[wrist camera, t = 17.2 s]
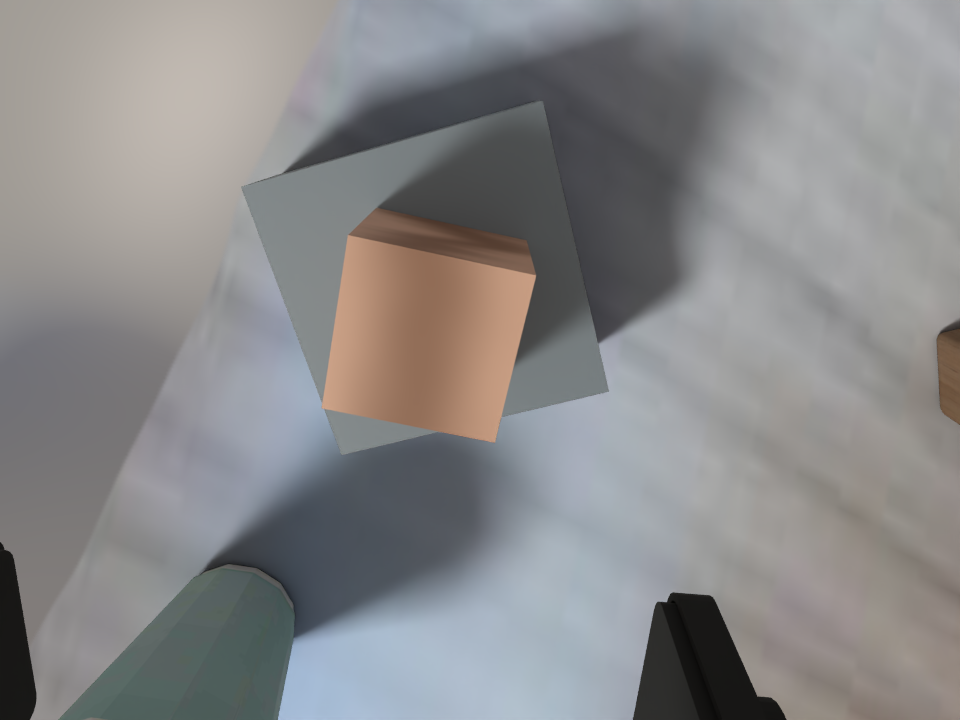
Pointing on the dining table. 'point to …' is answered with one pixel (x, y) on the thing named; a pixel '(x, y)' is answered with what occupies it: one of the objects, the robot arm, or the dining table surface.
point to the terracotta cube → (428, 324)
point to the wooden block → (949, 373)
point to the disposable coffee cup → (202, 655)
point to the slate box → (451, 199)
